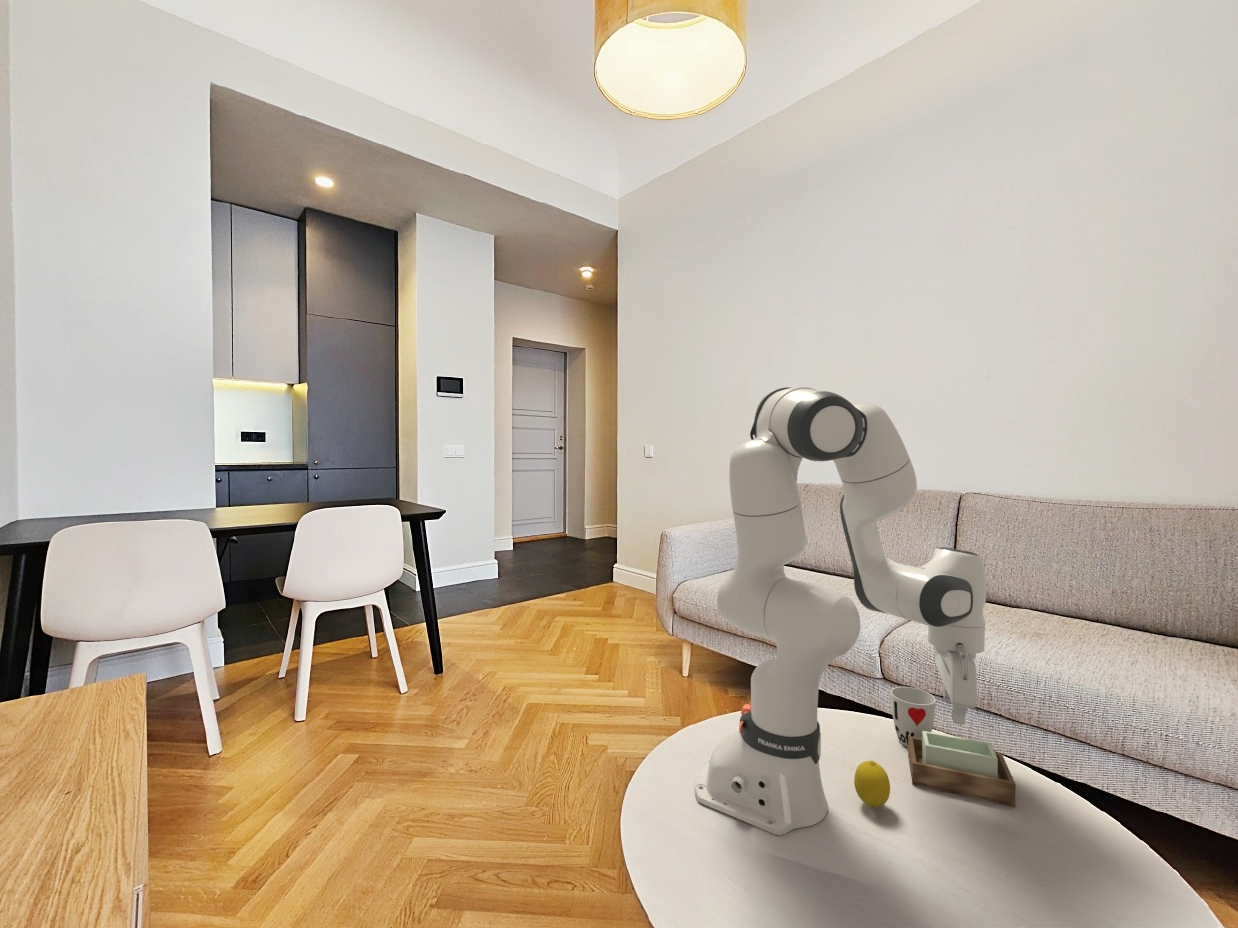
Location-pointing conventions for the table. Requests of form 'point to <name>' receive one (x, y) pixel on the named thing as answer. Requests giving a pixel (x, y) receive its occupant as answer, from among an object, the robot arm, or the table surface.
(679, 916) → the table surface
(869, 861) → the table surface
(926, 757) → the sage crate
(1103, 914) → the table surface
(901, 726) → the cup
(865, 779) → the lemon
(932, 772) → the walnut crate
